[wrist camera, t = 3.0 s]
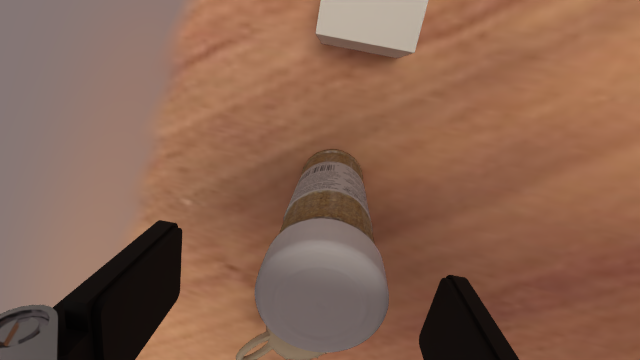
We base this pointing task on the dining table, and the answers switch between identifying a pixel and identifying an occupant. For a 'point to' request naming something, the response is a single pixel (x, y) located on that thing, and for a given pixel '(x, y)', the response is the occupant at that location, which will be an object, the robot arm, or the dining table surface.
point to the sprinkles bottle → (324, 262)
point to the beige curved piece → (274, 348)
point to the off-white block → (372, 25)
